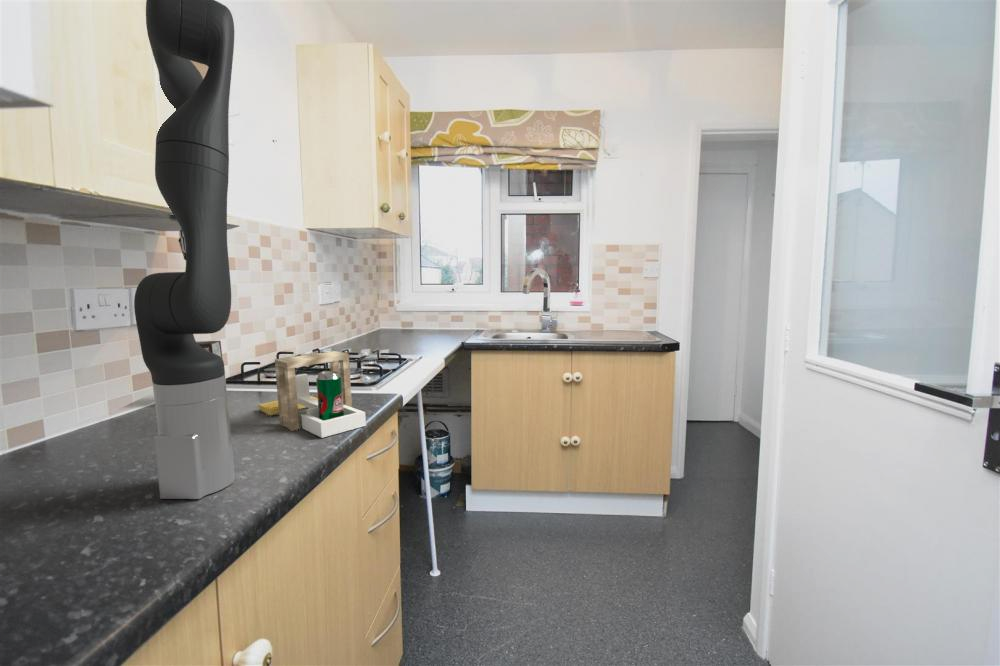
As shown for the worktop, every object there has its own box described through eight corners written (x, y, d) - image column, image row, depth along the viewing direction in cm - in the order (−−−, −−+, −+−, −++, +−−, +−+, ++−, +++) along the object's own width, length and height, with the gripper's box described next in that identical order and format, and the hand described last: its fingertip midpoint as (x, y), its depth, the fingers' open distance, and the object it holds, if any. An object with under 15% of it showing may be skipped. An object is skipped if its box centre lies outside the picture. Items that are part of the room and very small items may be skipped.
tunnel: (292, 431, 98) (287, 362, 96) (279, 424, 102) (274, 359, 100) (352, 415, 108) (348, 353, 106) (338, 410, 112) (335, 350, 110)
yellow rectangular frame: (270, 416, 108) (269, 409, 108) (259, 411, 113) (258, 404, 113) (320, 405, 117) (319, 399, 117) (307, 400, 122) (307, 394, 122)
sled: (321, 437, 93) (318, 394, 92) (278, 416, 108) (275, 378, 107) (366, 425, 100) (363, 384, 99) (319, 407, 115) (317, 371, 114)
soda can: (339, 431, 97) (335, 375, 96) (315, 431, 98) (311, 375, 96) (348, 423, 102) (344, 370, 101) (325, 423, 103) (322, 370, 101)
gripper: (218, 195, 96) (226, 280, 98) (200, 203, 105) (207, 280, 107) (175, 191, 90) (184, 281, 92) (159, 199, 99) (168, 281, 101)
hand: (196, 280), depth 100 cm, fingers closed
